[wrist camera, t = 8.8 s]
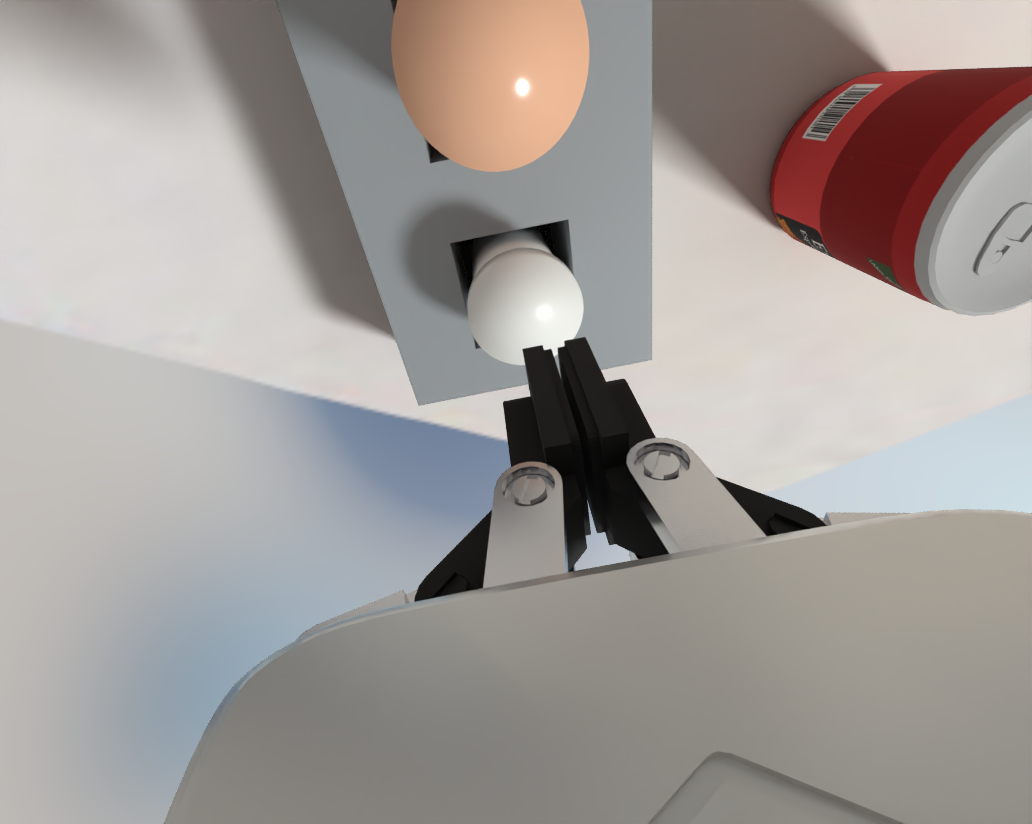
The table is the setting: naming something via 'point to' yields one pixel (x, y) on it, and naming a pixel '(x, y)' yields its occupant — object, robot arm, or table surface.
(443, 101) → the plug terracotta
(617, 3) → the socket board
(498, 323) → the grey plug
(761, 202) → the table surface
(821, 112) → the canned food
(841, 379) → the table surface
